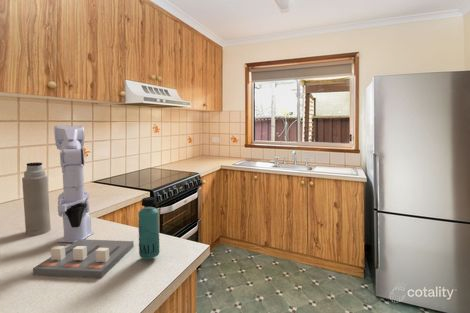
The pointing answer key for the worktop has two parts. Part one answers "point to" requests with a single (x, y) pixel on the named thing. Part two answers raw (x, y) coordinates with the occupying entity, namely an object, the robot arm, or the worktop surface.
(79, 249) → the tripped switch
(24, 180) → the thermos bottle
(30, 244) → the worktop surface
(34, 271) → the switch panel
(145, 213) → the beverage bottle
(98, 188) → the worktop surface
